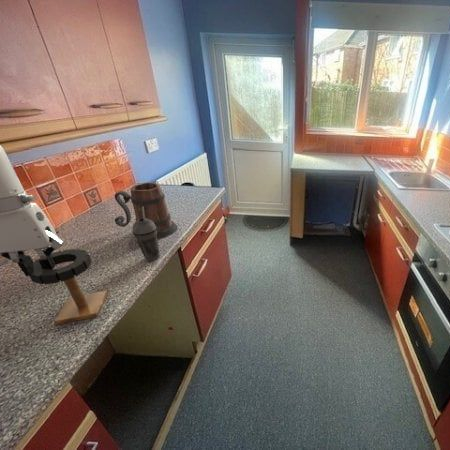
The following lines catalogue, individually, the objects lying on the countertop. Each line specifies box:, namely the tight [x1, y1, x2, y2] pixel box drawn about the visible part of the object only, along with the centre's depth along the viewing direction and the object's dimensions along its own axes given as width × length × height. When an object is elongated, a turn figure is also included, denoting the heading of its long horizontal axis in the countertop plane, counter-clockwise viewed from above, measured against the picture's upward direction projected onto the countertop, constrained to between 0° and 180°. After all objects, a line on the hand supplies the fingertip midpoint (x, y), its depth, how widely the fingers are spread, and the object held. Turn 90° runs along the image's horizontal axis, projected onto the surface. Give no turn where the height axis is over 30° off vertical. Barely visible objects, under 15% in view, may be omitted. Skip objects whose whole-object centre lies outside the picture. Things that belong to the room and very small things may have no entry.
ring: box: [27, 248, 92, 285], centre depth 62 cm, size 11×11×2 cm
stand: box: [53, 276, 109, 325], centre depth 66 cm, size 9×9×13 cm
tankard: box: [114, 182, 178, 240], centre depth 103 cm, size 24×17×20 cm
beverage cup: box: [132, 207, 161, 262], centre depth 86 cm, size 7×7×20 cm
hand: (41, 270), depth 61 cm, fingers open, 3 cm apart
